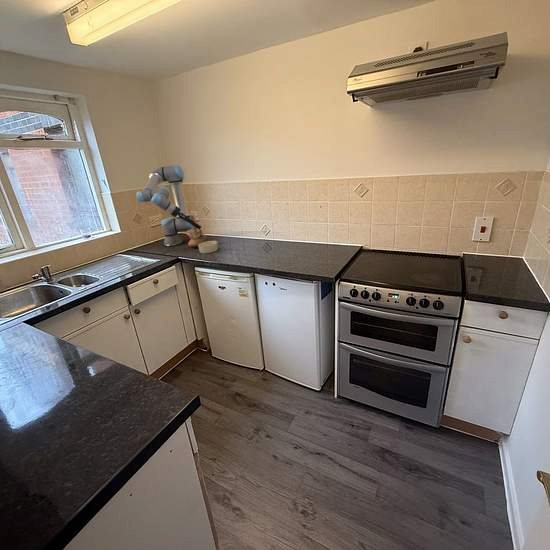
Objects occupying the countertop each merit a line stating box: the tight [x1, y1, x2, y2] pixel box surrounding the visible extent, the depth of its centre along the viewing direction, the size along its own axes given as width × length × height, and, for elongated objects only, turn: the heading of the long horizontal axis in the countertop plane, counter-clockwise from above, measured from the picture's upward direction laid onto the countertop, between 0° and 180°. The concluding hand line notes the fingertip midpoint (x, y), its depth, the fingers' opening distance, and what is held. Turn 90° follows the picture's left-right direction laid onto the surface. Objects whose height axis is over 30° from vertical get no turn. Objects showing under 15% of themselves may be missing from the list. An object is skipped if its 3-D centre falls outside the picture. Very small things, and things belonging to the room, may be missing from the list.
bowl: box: [197, 240, 219, 255], centre depth 231 cm, size 15×15×6 cm
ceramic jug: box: [186, 228, 207, 249], centre depth 246 cm, size 18×14×14 cm
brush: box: [190, 214, 200, 237], centre depth 224 cm, size 5×5×16 cm
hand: (200, 228), depth 227 cm, fingers closed on brush, 3 cm apart
